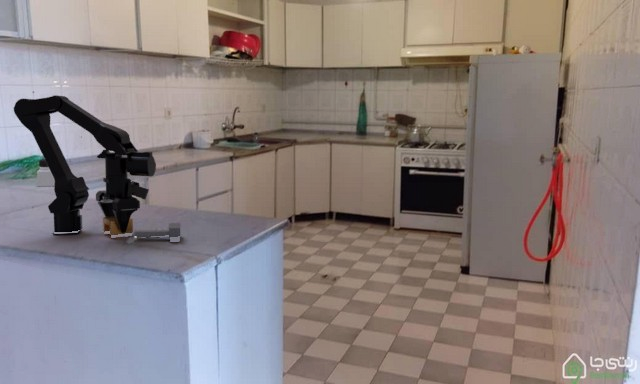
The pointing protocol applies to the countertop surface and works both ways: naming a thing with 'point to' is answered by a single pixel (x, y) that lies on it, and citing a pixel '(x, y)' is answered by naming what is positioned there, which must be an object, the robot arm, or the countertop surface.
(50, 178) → the medicine bottle
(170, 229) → the hammer
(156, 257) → the countertop surface
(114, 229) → the wooden u-channel block
